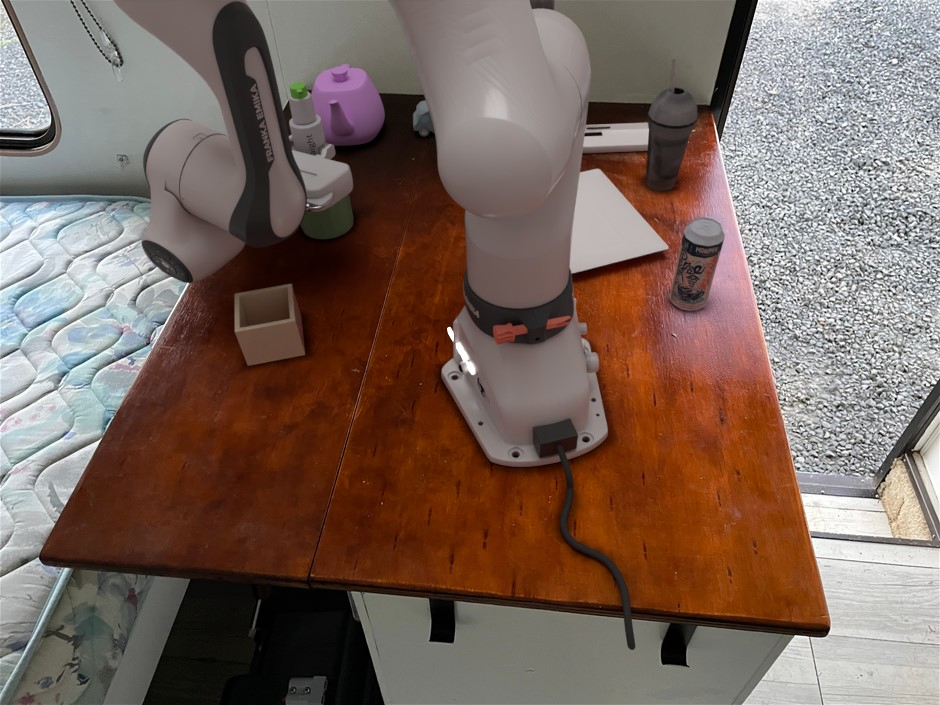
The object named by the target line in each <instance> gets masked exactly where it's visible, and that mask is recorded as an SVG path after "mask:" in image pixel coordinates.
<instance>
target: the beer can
mask: <svg viewBox="0 0 940 705" xmlns="http://www.w3.org/2000/svg"><path fill="white" fill-rule="evenodd" d="M724 240H725V232H724V229H723V226H722V224H721V223H720V222H718V221H717V220H716V219H714V218H710V217H698V218H693V219H692V220H691V221H690V222H689V224H688V225H686V226H685V228H684V230H683V233H682V239H681V243H680V247H679V251H678V256H677V260H676V264H675V270H674V274H673V278H672V283H671V287H670V291H669V299H670V300H669V301H670V302H671V303H672V305H674V306H676V308H679V309H681V310H684V311H697V310H700V309H703V308H704V307H705V306H706V304H707V302H708V298H709V295H710V291H711V288H712V284H713V281H714V277H715V274H716V270H717V267H718V263H719V259H720V256H721V252H722V248H723V245H724Z"/></svg>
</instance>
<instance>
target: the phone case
mask: <svg viewBox="0 0 940 705" xmlns="http://www.w3.org/2000/svg"><path fill="white" fill-rule="evenodd" d="M599 133H600V134H601V135H591V136H590V135H588V136H587V135H586V136H584V144H583V152H582V154H603V153H628V152H647V151H648V136H649V128H648V122H626V123H603V124H586V127H585V134H599Z"/></svg>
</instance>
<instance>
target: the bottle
mask: <svg viewBox="0 0 940 705" xmlns="http://www.w3.org/2000/svg"><path fill="white" fill-rule="evenodd" d="M289 92H290V94H288V102H289V109H290V113H291V118H290V119H289V122H288V123H289V124H288V125H289V130H290V133H291V134H290V135H292V138H293V143H294V147H295V151H298V152H302V153H306V154H310V155H314V156H316V155H317V154H318V155H319V154H320V153H319V150H318V147H319V146H321V145H323V143H326V142H325V137H324V132H323V126H322V121H321V118H320V117H319V115H317V114H315V109H314V104H313V100H312V97H311V93H310V92H309V91H308V89H307V85H306V83H305V82H303V81H302V82H301V81H297V82H296V81H295V82H293V83H291V84H290V85H289Z"/></svg>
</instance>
